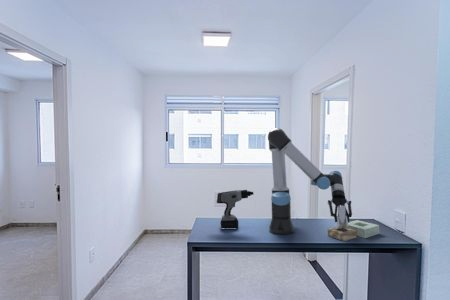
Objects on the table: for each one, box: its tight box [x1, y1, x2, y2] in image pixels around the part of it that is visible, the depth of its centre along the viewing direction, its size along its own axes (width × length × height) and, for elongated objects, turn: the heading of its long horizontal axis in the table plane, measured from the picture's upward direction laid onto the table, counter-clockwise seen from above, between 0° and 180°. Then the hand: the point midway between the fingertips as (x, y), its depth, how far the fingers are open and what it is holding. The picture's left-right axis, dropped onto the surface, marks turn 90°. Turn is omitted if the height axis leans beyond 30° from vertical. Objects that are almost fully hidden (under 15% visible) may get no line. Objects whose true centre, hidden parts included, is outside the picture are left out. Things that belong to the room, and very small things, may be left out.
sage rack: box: [348, 219, 380, 239], centre depth 164 cm, size 14×14×5 cm
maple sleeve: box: [327, 226, 358, 242], centre depth 158 cm, size 11×11×4 cm
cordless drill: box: [216, 189, 254, 229], centre depth 179 cm, size 8×24×25 cm, turn 89°
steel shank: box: [337, 204, 346, 232], centre depth 158 cm, size 4×4×18 cm
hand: (343, 227), depth 154 cm, fingers closed on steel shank, 4 cm apart
